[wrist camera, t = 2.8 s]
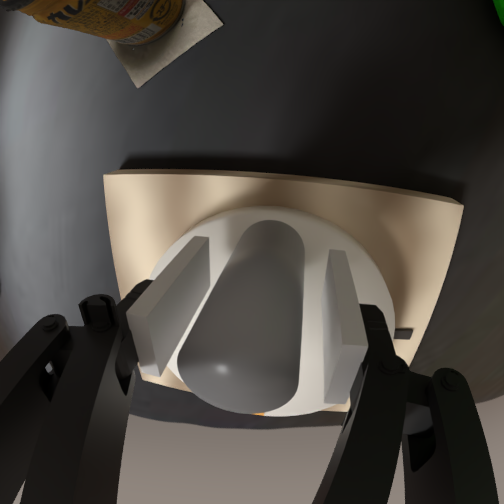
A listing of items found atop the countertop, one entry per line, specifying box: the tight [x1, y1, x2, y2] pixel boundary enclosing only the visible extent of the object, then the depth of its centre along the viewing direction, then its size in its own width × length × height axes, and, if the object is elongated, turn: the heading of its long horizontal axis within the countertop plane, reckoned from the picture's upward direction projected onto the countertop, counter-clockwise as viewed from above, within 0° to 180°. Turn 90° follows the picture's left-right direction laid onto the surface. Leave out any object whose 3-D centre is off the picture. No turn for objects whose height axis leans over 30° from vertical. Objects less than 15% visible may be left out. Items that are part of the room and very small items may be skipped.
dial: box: [149, 206, 395, 416], centre depth 16 cm, size 17×17×11 cm
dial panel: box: [103, 169, 464, 412], centre depth 22 cm, size 24×20×2 cm
